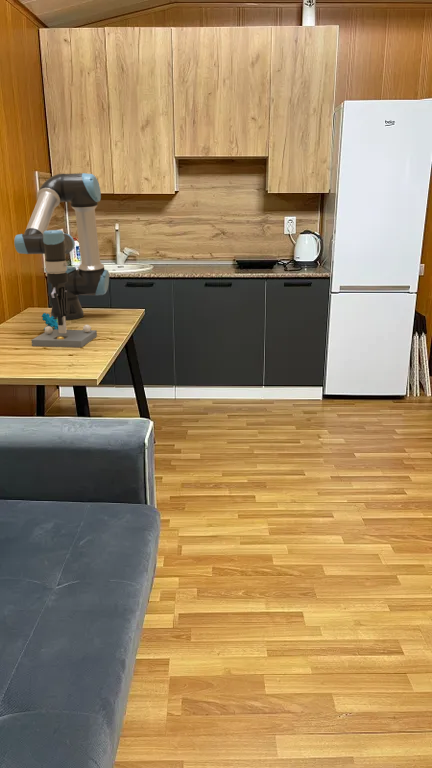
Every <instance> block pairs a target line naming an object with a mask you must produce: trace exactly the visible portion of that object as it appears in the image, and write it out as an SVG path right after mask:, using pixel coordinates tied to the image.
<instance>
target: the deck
mask: <svg viewBox="0 0 432 768" xmlns="http://www.w3.org/2000/svg"><path fill="white" fill-rule="evenodd" d="M66 330H67V333H59V330H56V329H54V328H53V332H52V333H51V334H47V333H46V332H45V331H44V332H43V333H41V334H39V335H38V336H36V337H34V338H32V339H30V340H31V341H30V342H31V347H50V348H51V347H53V348H54V347H55V348H83V347H84V346H87V344H88V343H90V342H92V341H93V340H94V339H96V337H98V331H97V330H95V329H91V331H90V332H88V333H86V332H84V330H83V329H66ZM59 336H62V337H64V339H57V337H59Z"/></svg>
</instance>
